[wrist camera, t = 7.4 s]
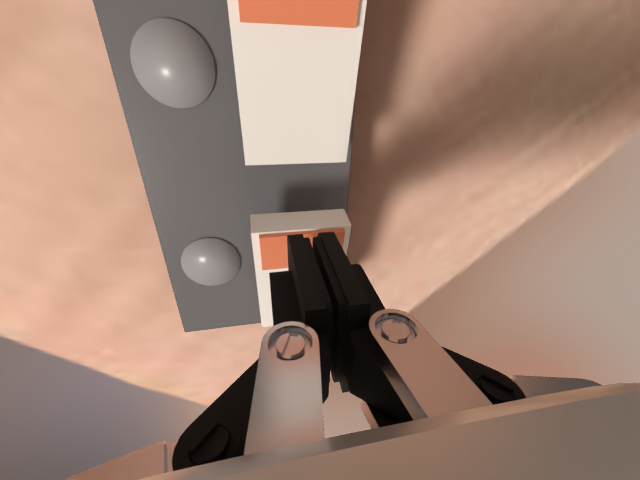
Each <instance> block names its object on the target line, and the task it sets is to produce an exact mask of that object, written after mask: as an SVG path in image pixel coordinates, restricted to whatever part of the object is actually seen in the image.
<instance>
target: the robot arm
mask: <svg viewBox="0 0 640 480" xmlns="http://www.w3.org/2000/svg"><path fill="white" fill-rule="evenodd" d="M287 248H288V271H281V272H270V273H269V277H270V290H271V303H272V315H273V327H272V328H271V329H269V330H268V331H267V332H266V334H265V335H264V337H263V339H262V342H261V348H260V354H259V359H258V360H257V361H256V362H255V363H254V364H253V365H252V366H251V367H250V368H248V369H247V370H246V371H245V372H244V373H243V374H242V375H241V376H240V377H239V378H238V379H237V380H236V381H235V382H234V383H233V384H232V385H231V386H230V387H229V388H228V389H227V390H226V391H225V392H224V393H223V394H222V395H221V396H220V397H219V398H217V399H216V400H215V401H214V402H213V403H212V404H211V405H210V406H209V407H208V408H207V409H206V410H205V411H204V412H203V413H202V414H201V415H200V416H199V417H198V418H197V419H196V420H195V421H194V422H193V423H192V424H191V425H190V426H189V427H188V428H187V429H186V430H185V431H184V433H183V434H182V435H181V436H180V438H178V439H176V440H174V441H171V442H169V443H166V444H165V441H164V440H161V441H159V442H156V443H154V444H151V445H149V446H146V447H144V448H141V449H139V450H136V451H134V452H132V453H129V454H126V455H124V456H121V457H119V458H116V459H114V460H111V461H109V462H107V463H104V464H102V465H99V466H97V467H94V468H92V469H89V470H87V471H84V472H82V473H79V474H77V475H74V476H72V477H69V478H67V479H64V480H640V383H618V384H609V385H600V384H598V383H596V382H594V381H590V380H585V379H578V378H559V377H540V376H521V375H519V376H518V375H513V377H512V378H511V379H510V378H508V377H507V376H506V375H504V374H502V373H500V372H498V371H496V370H494V369H492V368H489V367H487V366H485V365H483V364H480V363H478V362H476V361H474V360H471V359H469V358H467V357H464V356H462V355H460V354H458V353H455V352H453V351H451V350H449V349H446V348H444V347H442V346H440V345H439V343H438V342H437V341H436V340H435V339H434V338H433V337H432V336H431V334H430V333H429V332H428V331H427V330H426V329H425V328H424V327H423V326H422V324H421V323H420V322H419V321H418V320H417V319H416V318H414V317H413V316H412V315H410V314H408V313H406V312H404V311H400V310H397V309H385V307H384V306H383V304H382V302H381V300H380V299H379V297H378V295H377V293H376V292H375V290H374V288H373V286H372V285H371V283H370V281H369V279H368V277H367V276H366V274H365V272H364V270H363V269H362V267H361V266H360V265H359V264H353V265H351V264H350V262H349V260H348V258H347V256H346V254H345V252H344V250H343V248H342V246H341V244H340V242H339V241H338V239H337V237H336V235H335V233H334V232H321V233H318V237H313V241H312V245H311V242H310V239H309V237H307V238H304V236H303V234H294V235H287ZM330 371H331V374H332V378H333V381H334V382H340V385H341V389H342V392H348V391H350V393H352V394H353V395H355V396H357V397H358V398H359V402H360V406H361V409H362V411H363V413H364V415H365V417H366V419H367V421H368V423H369V425H370V427H371V429H370V430H365V431H361V432H355V433H350V434H345V435H340V436H336V437H331V438H326V439H325V438H324V421H323V403H324V402H325V400H326V399H327V397H328V393H329V382H330Z"/></svg>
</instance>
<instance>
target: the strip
mask: <svg viewBox="0 0 640 480" xmlns="http://www.w3.org/2000/svg"><path fill="white" fill-rule="evenodd" d="M93 3H94V6H95V10H96V13H97V17H98V21H99V24H100V28H101V31H102V35H103V39H104V42H105V46H106V49H107V53H108V57H109V60H110V64H111V68H112V71H113V75H114V78H115V82H116V86H117V89H118V93H119V96H120V100H121V104H122V107H123V111H124V114H125V118H126V122H127V125H128V129H129V132H130V136H131V140H132V143H133V147H134V150H135V154H136V158H137V161H138V165H139V168H140V172H141V176H142V179H143V183H144V187H145V190H146V194H147V197H148V201H149V205H150V208H151V212H152V215H153V219H154V223H155V226H156V230H157V233H158V237H159V241H160V244H161V248H162V251H163V255H164V259H165V262H166V266H167V269H168V273H169V277H170V280H171V284H172V288H173V291H174V295H175V298H176V302H177V306H178V309H179V313H180V316H181V320H182V324H183V327H184V331H185V332H191V331H199V330H207V329H215V328H222V327H230V326H238V325H246V324H254V323H261V316H260V307H259V299H258V290H257V282H256V273H255V265H254V256H253V248H252V239H251V223H250V215H252V214H268V213H284V212H300V211H316V210H332V209H344V210H345V212H346V214H347V205H348V191H349V177H350V163H351V149H352V135H353V121H354V107H355V97H354V105H353V113H352V120H351V128H350V136H349V144H348V151H347V159H346V162H337V163H306V164H275V165H245V157H244V148H243V139H242V130H241V121H240V112H239V103H238V94H237V85H236V76H235V67H234V58H233V49H232V40H231V31H230V22H229V13H228V4H227V0H93ZM355 93H356V89H355Z"/></svg>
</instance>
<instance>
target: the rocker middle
mask: <svg viewBox="0 0 640 480" xmlns="http://www.w3.org/2000/svg"><path fill="white" fill-rule="evenodd" d="M227 4H228V13H229V22H230V31H231V40H232V49H233V58H234V67H235V76H236V85H237V94H238V103H239V112H240V121H241V130H242V139H243V148H244V157H245V165H275V164H306V163H337V162H346V159H347V151H348V144H349V136H350V128H351V120H352V113H353V105H354V97H355V89H356V82H357V74H358V66H359V58H360V51H361V43H362V35H363V27H364V20H365V12H366V4H367V0H227Z"/></svg>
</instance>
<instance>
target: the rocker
mask: <svg viewBox="0 0 640 480" xmlns="http://www.w3.org/2000/svg"><path fill="white" fill-rule="evenodd" d="M250 223H251V239H252V248H253V256H254V265H255V273H256V282H257V290H258V299H259V307H260V316H261V324H262V327H267V326H273V315H272V303H271V290H270V277H269V273H270V272H281V271H288V248H287V235H294V234H303V236H304V238H307V237H309V239H310V242H311V245H312V241H313V237H318V233H321V232H334V233H335V235H336V237H337V239H338V241H339V242H340V244H341V246H342V248H343V250H344V252H345V254H346V256H347V250H348V244H349V238H350V232H351V224H350V221H349V219H348V217H347V214H346V212H345V210H344V209H332V210H316V211H300V212H284V213H268V214H252V215H250Z"/></svg>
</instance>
